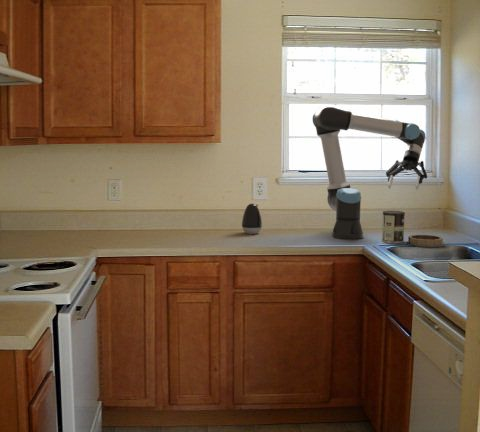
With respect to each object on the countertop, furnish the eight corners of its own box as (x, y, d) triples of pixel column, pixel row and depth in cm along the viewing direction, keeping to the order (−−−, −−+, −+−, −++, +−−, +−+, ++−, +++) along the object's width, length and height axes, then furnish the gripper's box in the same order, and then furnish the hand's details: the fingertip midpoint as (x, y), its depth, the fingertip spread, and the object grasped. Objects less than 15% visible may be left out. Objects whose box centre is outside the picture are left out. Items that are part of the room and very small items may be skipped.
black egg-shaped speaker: (265, 232, 340) (266, 203, 338) (255, 235, 331) (255, 205, 329) (248, 231, 346) (249, 201, 344) (237, 233, 337) (238, 203, 335)
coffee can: (403, 240, 322) (404, 210, 320) (404, 243, 312) (405, 213, 310) (381, 239, 324) (382, 210, 322) (381, 242, 314) (382, 213, 312)
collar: (402, 245, 307) (402, 238, 307) (412, 240, 322) (412, 233, 322) (439, 249, 299) (439, 241, 299) (448, 243, 314) (448, 236, 313)
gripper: (438, 160, 333) (429, 193, 322) (389, 159, 345) (379, 190, 334) (436, 150, 328) (427, 183, 317) (386, 149, 340) (376, 181, 329)
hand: (402, 187), depth 326 cm, fingers open, 13 cm apart
